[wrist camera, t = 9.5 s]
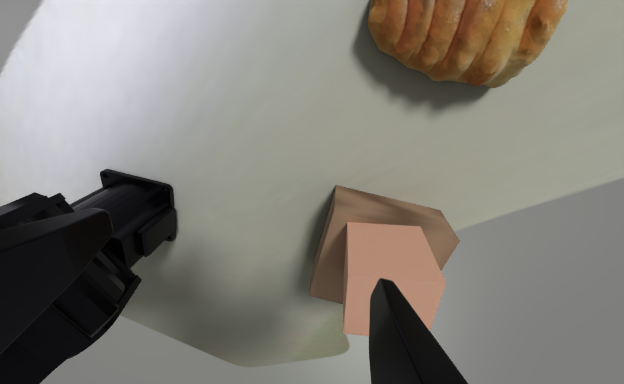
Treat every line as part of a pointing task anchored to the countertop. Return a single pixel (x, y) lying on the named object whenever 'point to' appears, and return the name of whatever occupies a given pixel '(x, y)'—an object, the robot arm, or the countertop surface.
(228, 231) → the countertop surface
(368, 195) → the brown wooden square block
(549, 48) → the countertop surface
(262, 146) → the countertop surface
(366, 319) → the terracotta cube
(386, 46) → the pastry
